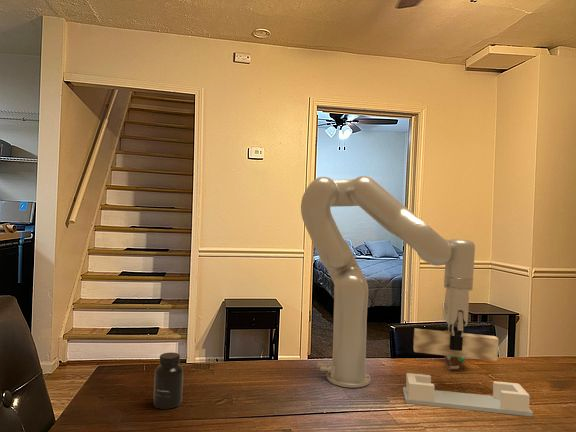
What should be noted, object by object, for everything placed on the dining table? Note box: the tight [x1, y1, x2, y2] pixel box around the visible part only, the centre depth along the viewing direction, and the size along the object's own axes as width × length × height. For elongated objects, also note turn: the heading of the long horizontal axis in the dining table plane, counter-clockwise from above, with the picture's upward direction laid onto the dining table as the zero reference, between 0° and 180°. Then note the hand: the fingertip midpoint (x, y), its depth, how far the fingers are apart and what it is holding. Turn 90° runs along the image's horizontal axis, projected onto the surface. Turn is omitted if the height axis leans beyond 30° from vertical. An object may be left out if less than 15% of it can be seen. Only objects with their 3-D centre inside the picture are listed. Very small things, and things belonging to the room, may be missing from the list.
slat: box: [412, 327, 500, 362], centre depth 119 cm, size 22×3×6 cm, turn 79°
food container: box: [444, 330, 465, 372], centre depth 135 cm, size 12×6×10 cm, turn 168°
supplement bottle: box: [153, 352, 184, 410], centre depth 103 cm, size 7×7×12 cm
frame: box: [402, 372, 534, 418], centre depth 109 cm, size 30×8×5 cm, turn 79°
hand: (454, 347), depth 119 cm, fingers closed on slat, 3 cm apart
